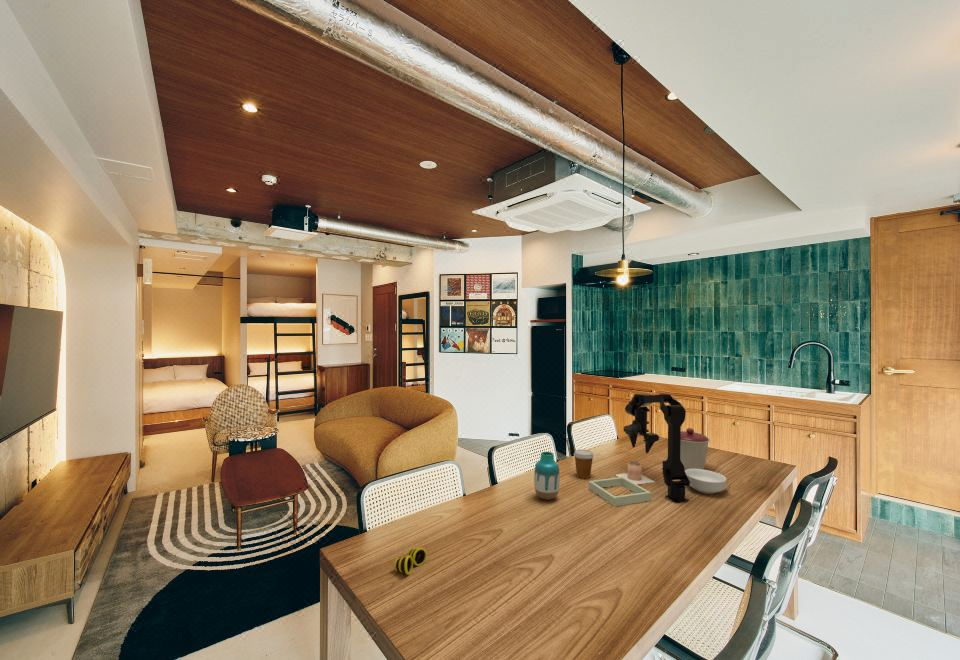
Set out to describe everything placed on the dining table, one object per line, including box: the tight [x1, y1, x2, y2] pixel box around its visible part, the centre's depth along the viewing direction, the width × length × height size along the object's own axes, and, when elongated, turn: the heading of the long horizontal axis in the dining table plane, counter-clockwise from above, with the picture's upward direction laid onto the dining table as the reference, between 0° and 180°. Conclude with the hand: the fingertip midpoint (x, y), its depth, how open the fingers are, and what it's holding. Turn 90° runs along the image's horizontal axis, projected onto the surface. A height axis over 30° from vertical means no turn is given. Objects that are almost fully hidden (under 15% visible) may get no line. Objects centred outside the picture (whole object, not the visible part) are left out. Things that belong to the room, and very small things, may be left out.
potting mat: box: [615, 472, 656, 486], centre depth 193 cm, size 13×13×1 cm
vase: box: [533, 451, 561, 501], centre depth 170 cm, size 11×11×19 cm
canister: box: [680, 427, 711, 470], centre depth 208 cm, size 18×18×21 cm
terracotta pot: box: [626, 461, 643, 481], centre depth 192 cm, size 6×6×7 cm
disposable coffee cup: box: [573, 448, 595, 479], centre depth 195 cm, size 10×10×12 cm
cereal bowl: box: [685, 469, 728, 495], centre depth 180 cm, size 17×17×7 cm
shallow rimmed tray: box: [588, 477, 652, 507], centre depth 174 cm, size 18×18×4 cm
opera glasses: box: [393, 547, 428, 576], centre depth 120 cm, size 10×5×5 cm, turn 149°
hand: (640, 450), depth 198 cm, fingers open, 9 cm apart
